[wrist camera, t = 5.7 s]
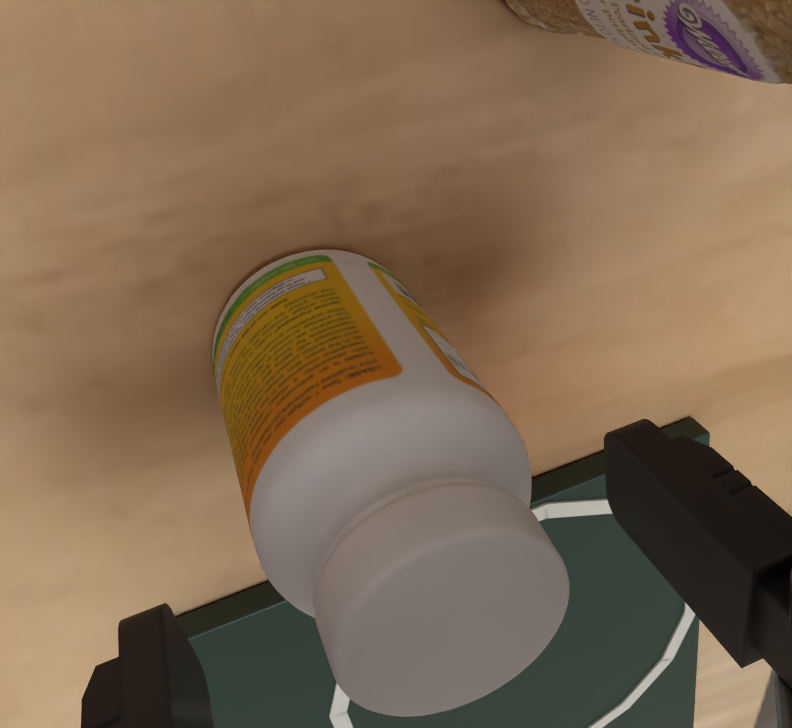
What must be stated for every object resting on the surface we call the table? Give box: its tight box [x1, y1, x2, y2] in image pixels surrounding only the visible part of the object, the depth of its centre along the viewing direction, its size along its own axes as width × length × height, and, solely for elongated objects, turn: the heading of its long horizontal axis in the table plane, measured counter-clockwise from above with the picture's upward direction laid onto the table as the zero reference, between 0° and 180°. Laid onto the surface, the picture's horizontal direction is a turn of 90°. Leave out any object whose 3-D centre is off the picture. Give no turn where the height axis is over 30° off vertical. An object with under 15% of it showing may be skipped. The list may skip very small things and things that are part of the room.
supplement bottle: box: [212, 250, 570, 717], centre depth 16 cm, size 5×5×10 cm
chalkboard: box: [176, 418, 710, 728], centre depth 29 cm, size 19×19×1 cm
